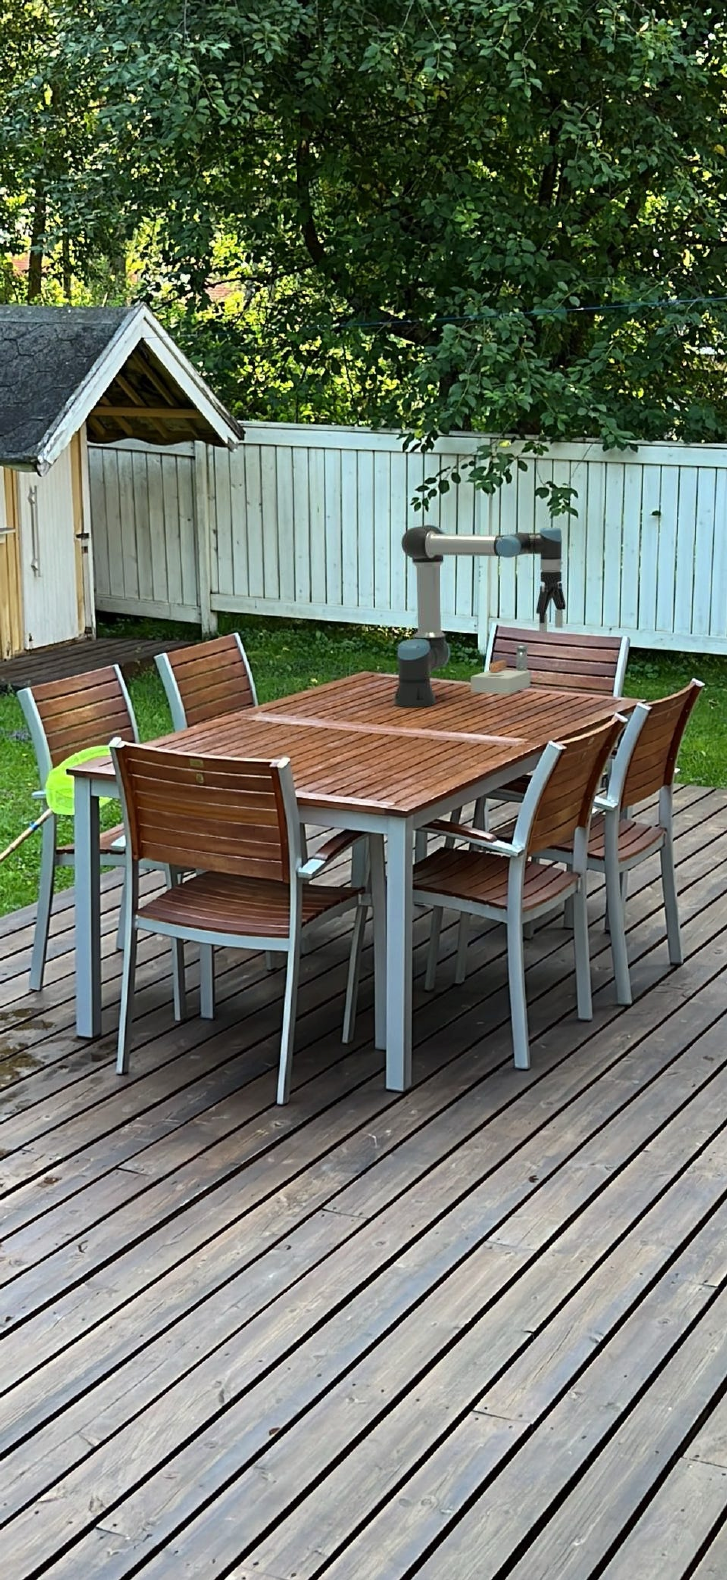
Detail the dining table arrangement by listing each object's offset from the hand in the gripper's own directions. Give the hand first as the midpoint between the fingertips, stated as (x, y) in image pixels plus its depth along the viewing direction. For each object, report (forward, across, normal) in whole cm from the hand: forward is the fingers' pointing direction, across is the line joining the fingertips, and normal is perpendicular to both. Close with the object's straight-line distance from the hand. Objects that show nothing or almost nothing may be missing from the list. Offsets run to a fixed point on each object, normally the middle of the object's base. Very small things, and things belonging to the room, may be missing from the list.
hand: (551, 629), depth 649 cm
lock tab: (+21, +33, +38) cm, 55 cm away
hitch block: (+28, +27, +34) cm, 51 cm away
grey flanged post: (+28, +43, +32) cm, 60 cm away
